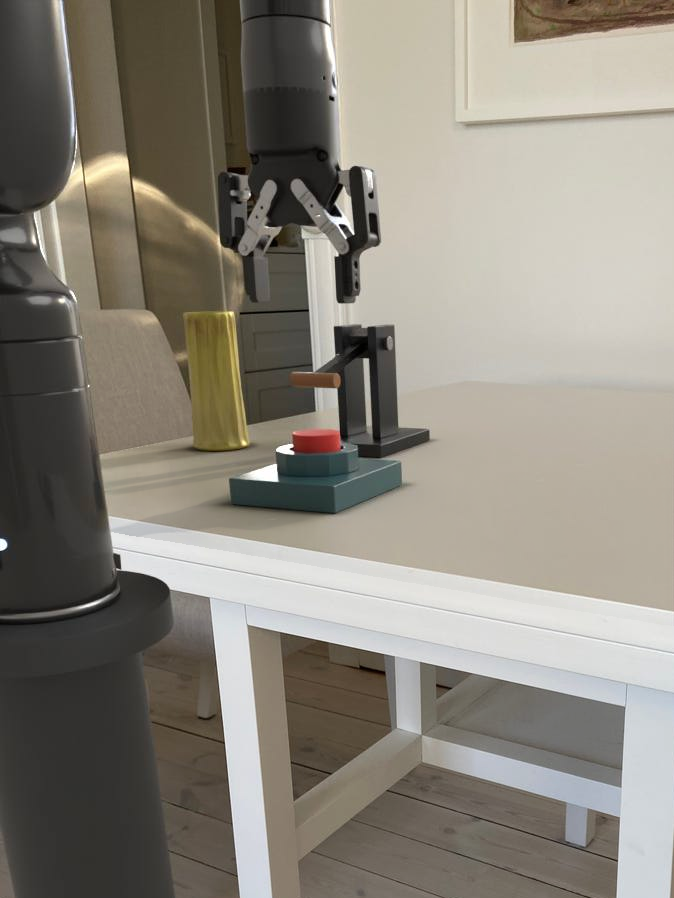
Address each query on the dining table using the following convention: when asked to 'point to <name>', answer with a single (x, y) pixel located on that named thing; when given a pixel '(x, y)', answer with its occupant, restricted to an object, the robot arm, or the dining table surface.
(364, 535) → the dining table surface
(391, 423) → the bracket
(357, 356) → the lever
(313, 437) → the button
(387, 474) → the control block
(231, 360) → the vase
